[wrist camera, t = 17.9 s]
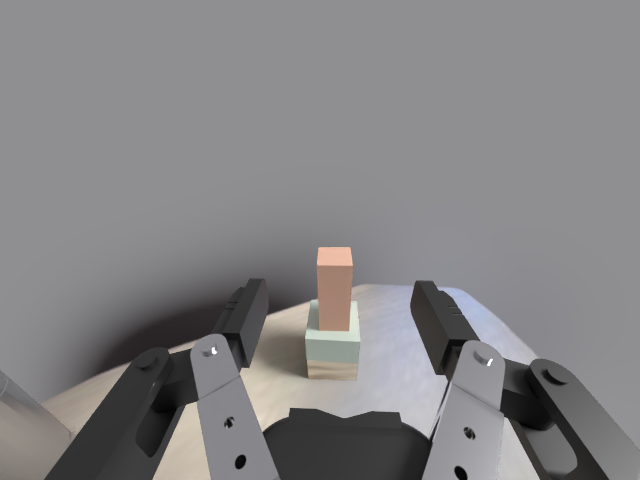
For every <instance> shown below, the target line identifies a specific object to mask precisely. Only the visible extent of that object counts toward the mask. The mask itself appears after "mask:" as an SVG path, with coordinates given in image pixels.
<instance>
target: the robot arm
mask: <svg viewBox="0 0 640 480" xmlns="http://www.w3.org/2000/svg"><path fill="white" fill-rule="evenodd" d="M268 308H269V298H268V292H267V286H266V281H265V279H264V278H250V279H249V281H248V283H247V285H246V287H245V288H241V287H240V288H239V289H238V290H237V291H235V292H234V293H233V294H232V296H231V298H230V299H229V301H228V303H227V305H226V307H225V310H223V312H222V314H221V316H220V317H219V319H218V321H217V323H216V325H215V326H214V328H213V330H212V332H211V334H210V335H208V336H205V337H203V338H202V339H200V340H199V341H198V342H197V343H196V344H195V345H194V346H193V348H191V349H188V350H184V351H180V352H176V353H172V354H169V352H168V350H167V349H166V348H163V347H156V348H152V349H149V350H147V351H145V352H143V353H142V354H140V355H139V356H137V357H136V358H135V359H134V360H133V361H132V362H131V364H130V365H129V366H128V368H127V369H126V370H125V372H124V373H123V374H122V376H121V377H120V378H119V380H118V381H117V382H116V384H115V385H114V386H113V388H112V389H111V390H110V392H109V393H108V394H107V396H106V397H105V398H104V400H103V401H102V402H101V404H100V405H99V406H98V408H97V409H96V410H95V412H94V413H93V414H92V416H91V417H90V418H89V420H88V421H87V422H86V424H85V425H84V426H83V428H82V429H81V430H80V432H79V433H78V434H77V436H76V435H75V434H74V433H73V432H71V431H70V430H69V429H68V428H67V427H66V426H65V425H63V424H62V423H61V422H60V421H59V420H58V419H57V418H56V417H54V416H53V415H52V414H51V413H50V412H49V411H48V410H46V409H45V408H44V407H43V406H42V405H41V404H40V403H38V402H37V401H36V400H35V399H34V398H33V397H31V396H30V395H29V394H28V393H27V392H26V391H24V390H23V389H22V388H21V387H20V386H19V385H18V384H17V383H15V382H14V381H13V380H12V379H11V378H10V377H8V376H7V375H6V374H5V373H4V372H2V371H1V370H0V480H152V479H153V477H154V474H155V472H156V470H157V468H158V466H159V463H160V461H161V459H162V457H163V454H164V452H165V450H166V448H167V446H168V443H169V441H170V439H171V437H172V435H173V432H174V430H175V428H176V426H177V423H178V421H179V419H180V417H181V415H182V412H183V410H184V408H185V406H186V405H187V404H190V403H193V402H196V401H197V408H198V413H199V418H200V424H201V429H202V434H203V439H204V445H205V450H206V455H207V460H208V466H209V471H210V476H211V480H497V479H498V471H499V462H500V453H501V444H502V435H503V426H504V417H506V418H508V419H509V421H510V423H511V425H512V427H513V429H514V431H515V433H516V435H517V437H518V438H519V440H520V442H521V444H522V446H523V448H524V450H525V452H526V454H527V455H528V457H529V459H530V461H531V463H532V465H533V467H534V469H535V471H536V473H537V474H538V476H539V478H540V480H640V450H639V449H638V447H637V446H636V445H635V444H634V443H633V442H632V441H631V439H630V438H629V437H628V436H627V435H626V434H625V433H624V431H623V430H622V429H621V428H620V427H619V426H618V424H617V423H616V422H615V421H614V420H613V419H612V418H611V416H610V415H609V414H608V413H607V412H606V411H605V410H604V408H603V407H602V406H601V405H600V404H599V403H598V402H597V400H596V399H595V398H594V397H593V396H592V395H591V394H590V392H589V391H588V390H587V389H586V388H585V387H584V386H583V384H582V383H581V382H580V381H579V380H578V379H577V378H576V377H575V375H573V374H572V373H571V372H570V371H569V370H567V369H566V368H564V367H563V366H561V365H559V364H557V363H555V362H552V361H549V360H546V359H535V360H533V361H532V362H531V364H530V365H529V366H528V365H525V364H521V363H518V362H515V361H511V360H508V359H505V358H503V357H502V356H501V354H500V353H499V352H498V351H497V350H496V349H494V348H493V347H491V346H490V345H488V344H486V343H484V342H481V341H480V339H479V338H478V336H477V335H476V333H475V332H474V330H473V329H472V327H471V326H470V324H469V323H468V321H467V320H466V318H465V317H464V315H462V312H461V310H460V309H459V308H458V306H457V304H456V303H455V301H454V300H453V298H452V297H450V296H449V295H448V294H447V293H445V292H444V291H439V290H438V289H437V287H436V285H435V284H434V283H433V281H416V282H415V285H414V289H413V294H412V298H411V303H410V308H411V314H412V316H413V319H414V321H415V324H416V326H417V329H418V331H419V334H420V336H421V339H422V341H423V344H424V346H425V349H426V351H427V354H428V356H429V359H430V361H431V364H432V366H433V369H434V371H435V374H436V375H445V376H446V378H447V380H448V382H447V385H446V388H445V391H444V393H443V396H442V399H441V402H440V405H439V408H438V411H437V414H436V417H435V420H434V423H433V426H432V428H431V431H430V434H429V436H428V438H427V437H426V436H425V435H423V434H422V433H421V432H420V431H418V430H417V429H415V428H413V427H412V426H410V425H408V424H406V423H403V422H401V418H400V414H399V412H376V411H371V412H368V413H364V414H360V415H357V416H353V417H349V418H341V417H338V416H335V415H332V414H329V413H326V412H323V411H321V410H318V409H303V408H290V412H289V417H287V418H283V419H281V420H279V421H277V422H275V423H273V424H272V425H270V426H269V427H268V428H267V429H265V430H264V431H263V432H262V430H261V428H260V425H259V423H258V420H257V417H256V415H255V412H254V410H253V407H252V404H251V402H250V399H249V397H248V394H247V391H246V389H245V386H244V383H243V381H242V378H241V376H240V374H239V373H240V370H241V368H249V367H250V364H251V361H252V358H253V355H254V352H255V349H256V346H257V343H258V340H259V337H260V334H261V331H262V328H263V324H264V321H265V318H266V315H267V312H268Z"/></svg>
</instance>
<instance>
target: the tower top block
mask: <svg viewBox="0 0 640 480" xmlns="http://www.w3.org/2000/svg"><path fill="white" fill-rule="evenodd" d="M305 345H306V358H307V360H311V361H328V362H344V363H358V361H359V350H360V333H359V322H358V310H357V302H351V308H350V326H349V331H319V306H318V300H311V304H310V310H309V317H308V323H307V329H306V336H305Z"/></svg>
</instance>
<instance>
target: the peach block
mask: <svg viewBox="0 0 640 480" xmlns="http://www.w3.org/2000/svg"><path fill="white" fill-rule="evenodd" d="M352 273H353V263H352V256H351V250H350V247H346V248H345V247H344V248H343V247H328V248H327V247H319V250H318V261H317V276H318V277H317V278H318V306H319V331H349V326H350V308H351V291H352Z"/></svg>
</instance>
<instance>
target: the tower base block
mask: <svg viewBox="0 0 640 480" xmlns="http://www.w3.org/2000/svg"><path fill="white" fill-rule="evenodd" d="M358 363H359V362H358ZM358 363H344V362H328V361H311V360H307V366H308V379H329V380H357V374H358Z"/></svg>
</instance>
